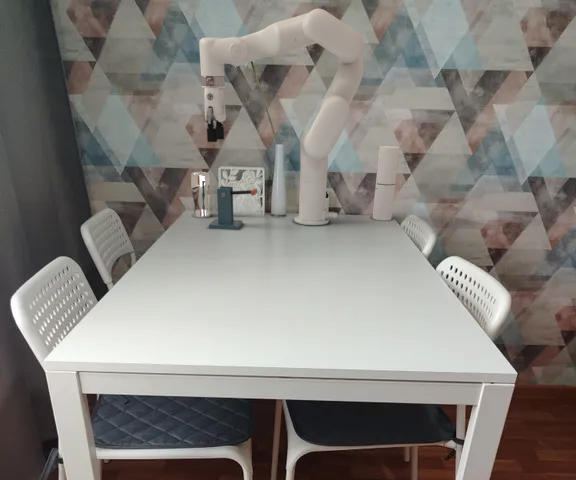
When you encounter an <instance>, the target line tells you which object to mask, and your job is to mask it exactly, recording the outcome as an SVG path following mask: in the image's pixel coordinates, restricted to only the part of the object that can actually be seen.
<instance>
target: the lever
mask: <svg viewBox="0 0 576 480" xmlns="http://www.w3.org/2000/svg"><path fill="white" fill-rule="evenodd" d="M230 192H231V195H233V196H235V195H251V196H256V195H257V194H258V188H252V189H249V190H247V189H246V190H233V191H230Z"/></svg>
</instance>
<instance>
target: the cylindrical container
mask: <svg viewBox="0 0 576 480" xmlns="http://www.w3.org/2000/svg"><path fill="white" fill-rule="evenodd" d="M399 155H400V146H393V145H380V146H379V147H378V158H377V168H376V179H375V188H374V198H373V207H372V208H373V209H372V219H373V220H377V221H390V220H392V217H393V210H394V209H393V208H394V199H395V191H396V183H397V174H398V165H399Z"/></svg>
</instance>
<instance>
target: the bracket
mask: <svg viewBox="0 0 576 480" xmlns="http://www.w3.org/2000/svg"><path fill="white" fill-rule="evenodd" d="M230 191H234V187H233V186H225V185H224V186H222V185H219V187H217V188H216V198H217V199H216V200H217V218H214V219H213V220H212V221H211V222H210V223H209V224H208V228H209V229H215V230H216V229H217V230H235V231H238V230H239V229H240V228H241V226H242V225H243V223H244V222H243V220H242V219H241V220H239V219H234V195H231V192H230Z"/></svg>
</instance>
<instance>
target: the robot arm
mask: <svg viewBox="0 0 576 480" xmlns="http://www.w3.org/2000/svg"><path fill="white" fill-rule="evenodd" d="M198 42H199V43H198V47H199V64H200V80H201V81H200V82H201V88H202V89H204V91H203V92H204V93H203V94H204V95H203V97H204V100H203V101H204V118H205V121H206V140H207V141H206V142H207V143H217V142H218V140H224V139H225V127H224V122H225V121H226V120H227V114H226V111H227V110H226V100H225V99H226V98H225V91H224V89H225V88H226V80H225V79H226V77H225V64H228V65H233V66H242V65H244V64H248V63H251V62H255V61H258V60H262V59H265V58H268V57H274V56H279V55H282V54H286V53H289V52H292V51H295V50H300V49H302V48H306V47H309V46H312V45H315V44H316V45H319V46H321V48H324V49H325V50H326V51H328V52H330V53H331V54H333V56H334V57H335V60H336V63H337V68H336V73H335V75H334V77H333V80H332V81H331V82H330V85H329V87H328V89H327V91H326V93H325V95H324V97H323V98H322V100H321V101H320V103H319V104H318V108H317V115H316V117H315V119H314V121H313V123H312V125H311V126H310V127H308V128H306V129H305V130H304V131H303V133H302V135H301V137H300V142H299V143H300V144H299V145H300V147H299V148H300V149H299V150H300V151H299V153H300V155H299V156H300V157H299V158H300V161H299V163H300V164H299V166H300V168H299V169H300V170H299V196H298V197H299V198H298V199H299V200H298V215H297V216H295V217H294V218H293V219H294V223H297V224H300V225H304V226H323V225H327V224H329V222H330V219H338V212H335V211H329V210H327V207H326V205H327V203H326V201H327V184H328V168H329V167H328V166H329V165H328V164H329V155H330V154H331V152H332V151H333V149H334V147H335V145H336V143H337V142H338V140H339V138H340V136H341V135H342V133H343V131H344V129H345V128H346V125H347V123H348V121H349V118H350V114H351V113H350V112H351V109H350V105H351V103H352V101H353V99H354V98H355V96H356V93H357V92H358V89H359V87H360V85H361V83H362V79H363V75H364V59H363V58H364V57H363V52H364V50H365V49H364V48H365V43H364V39H363V37H362V35H361V34H360V33H359V32H358V31H357V30H355V29H354V28H353V27H351V26H349V25H348V24H347V23H345V22H343V21H342V20H340V19H338V18H337V17H335V16H334V15H333V14H331V13H330V12H328V11H326V10H325V9H322V8H314V9H312V10H310V11H309V12H306V13H303V14H299V15H297V16H293V17H290V18H287V19H283V20H279V21H276V22H274V23H272V24H270V25H268V26H266V27H265V28H263V29H261V30H258V31H256V32H253V33H249V34H245V35H243V36H240V37H238V36H231V37H223V38H219V37H202V38H200V39H199V41H198Z"/></svg>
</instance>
